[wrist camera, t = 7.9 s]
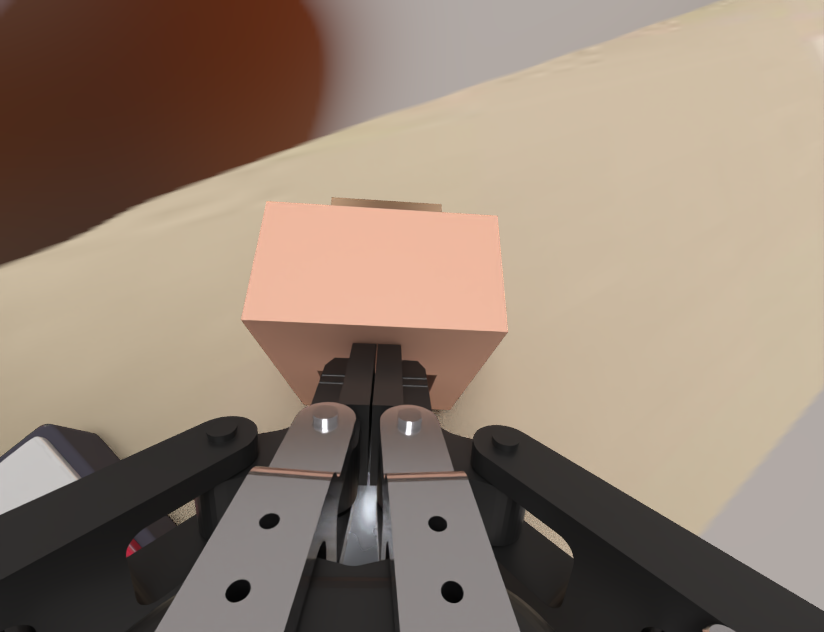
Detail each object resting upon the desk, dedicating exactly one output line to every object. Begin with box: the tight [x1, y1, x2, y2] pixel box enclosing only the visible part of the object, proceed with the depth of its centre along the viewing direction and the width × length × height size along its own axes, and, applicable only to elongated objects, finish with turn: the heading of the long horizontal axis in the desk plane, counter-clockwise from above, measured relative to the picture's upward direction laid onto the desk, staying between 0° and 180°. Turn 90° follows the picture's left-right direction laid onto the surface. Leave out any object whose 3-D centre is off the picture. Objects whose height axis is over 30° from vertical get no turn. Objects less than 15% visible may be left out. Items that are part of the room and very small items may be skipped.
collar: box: [241, 201, 508, 410], centre depth 16 cm, size 7×4×10 cm, turn 89°
